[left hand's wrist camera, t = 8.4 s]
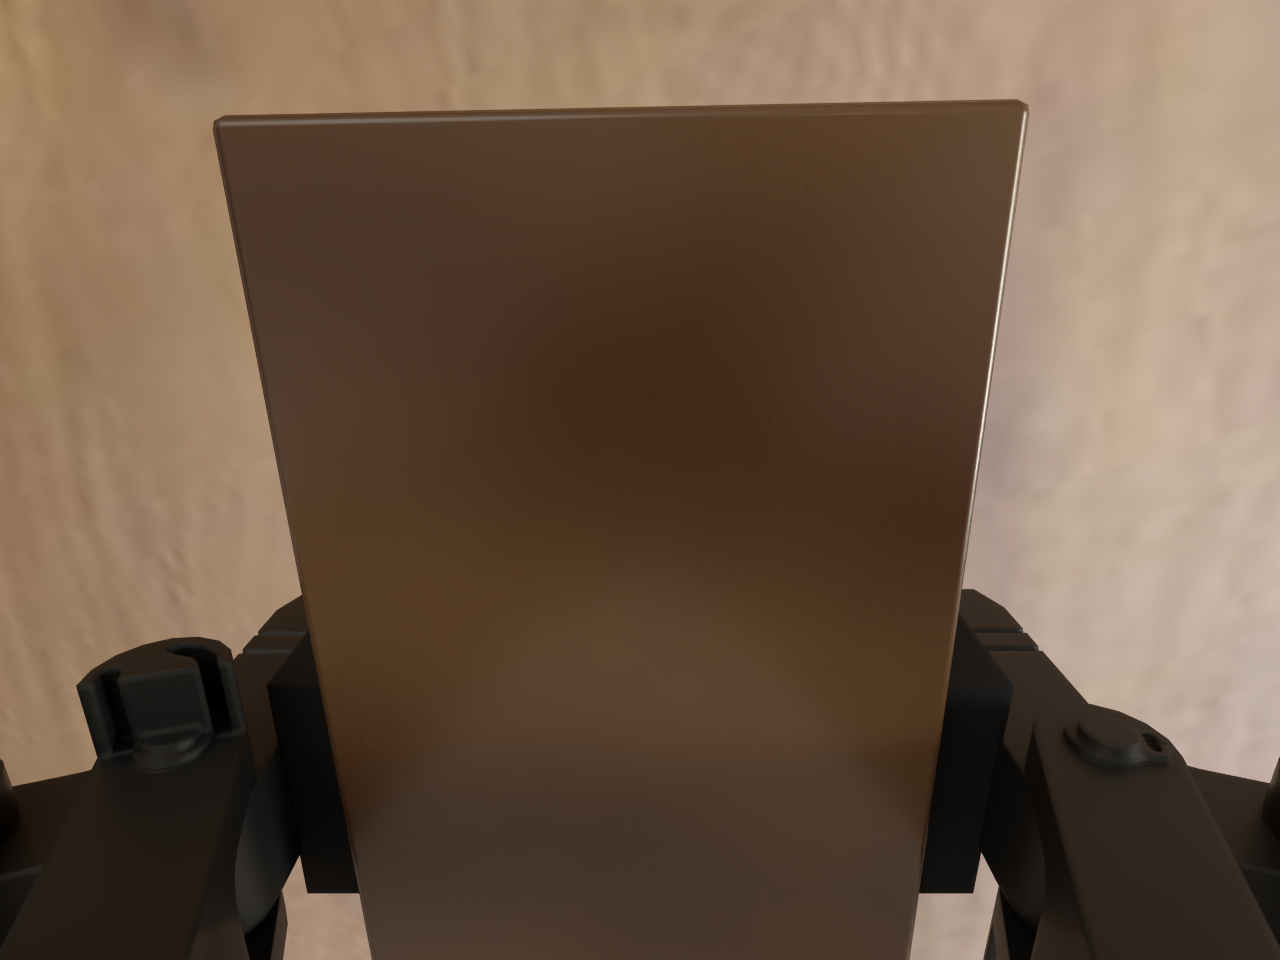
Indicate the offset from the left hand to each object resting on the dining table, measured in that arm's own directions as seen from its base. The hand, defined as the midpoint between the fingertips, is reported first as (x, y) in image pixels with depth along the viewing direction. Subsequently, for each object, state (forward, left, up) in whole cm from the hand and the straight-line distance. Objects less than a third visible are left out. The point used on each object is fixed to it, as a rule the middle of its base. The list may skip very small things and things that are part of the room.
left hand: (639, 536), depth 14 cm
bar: (+20, +4, -1) cm, 21 cm away
